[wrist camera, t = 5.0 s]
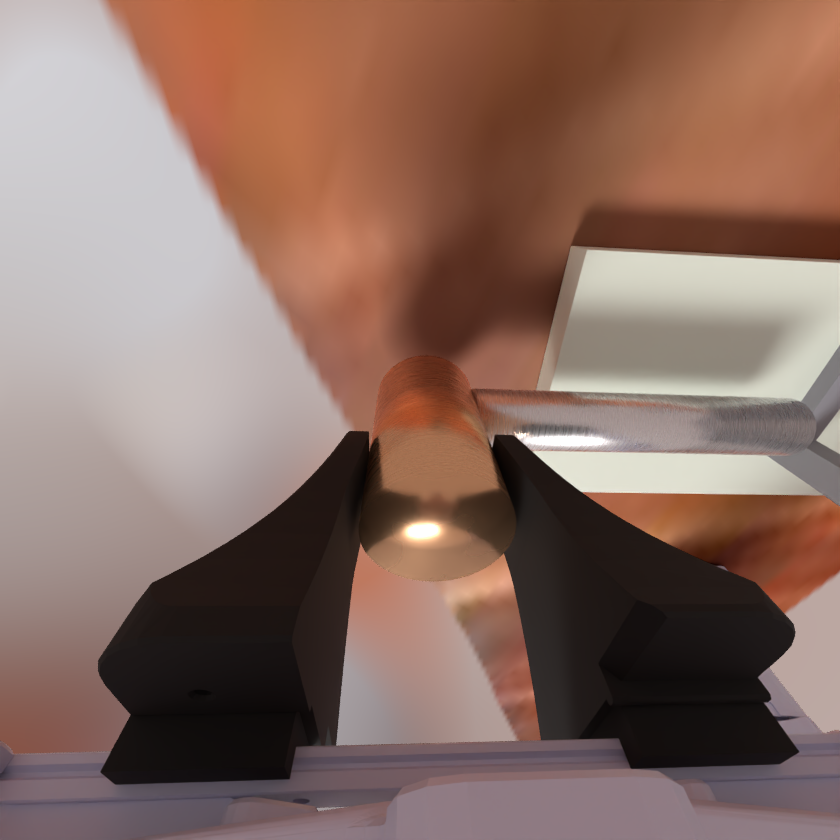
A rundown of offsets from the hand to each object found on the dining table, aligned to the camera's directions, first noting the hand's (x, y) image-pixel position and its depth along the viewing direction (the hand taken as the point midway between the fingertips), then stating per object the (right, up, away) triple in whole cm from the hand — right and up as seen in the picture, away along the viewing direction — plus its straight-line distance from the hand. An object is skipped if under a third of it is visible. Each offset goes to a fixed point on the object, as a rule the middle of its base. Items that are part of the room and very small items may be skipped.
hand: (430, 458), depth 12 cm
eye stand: (+16, +3, +7) cm, 17 cm away
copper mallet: (+6, +2, +4) cm, 8 cm away
